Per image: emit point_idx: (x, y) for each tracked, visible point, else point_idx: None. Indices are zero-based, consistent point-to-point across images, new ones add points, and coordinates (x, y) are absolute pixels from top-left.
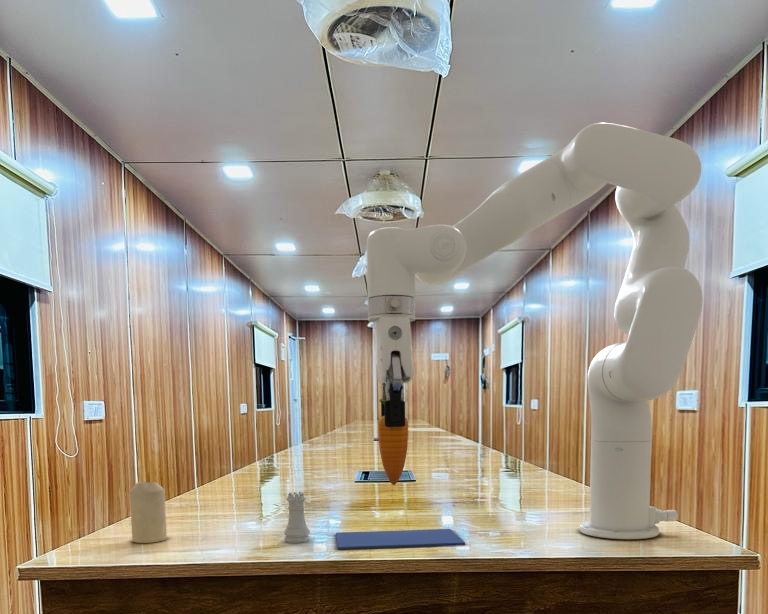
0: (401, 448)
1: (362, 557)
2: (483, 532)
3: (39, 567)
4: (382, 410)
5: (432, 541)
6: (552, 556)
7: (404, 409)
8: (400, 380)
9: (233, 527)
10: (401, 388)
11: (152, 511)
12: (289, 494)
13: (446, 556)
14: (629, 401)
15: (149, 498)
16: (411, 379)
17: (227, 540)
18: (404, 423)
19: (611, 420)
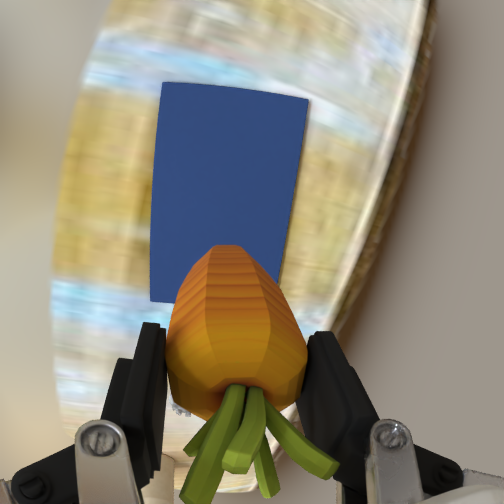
0: (279, 288)
1: (332, 280)
2: (198, 24)
3: (254, 488)
4: (162, 440)
5: (280, 152)
6: (413, 26)
7: (357, 383)
8: (499, 480)
9: (82, 405)
10: (456, 465)
11: (171, 485)
12: (190, 414)
13: (372, 162)
14: None
15: (172, 497)
16: (479, 486)
17: (168, 415)
18: (332, 338)
19: None
